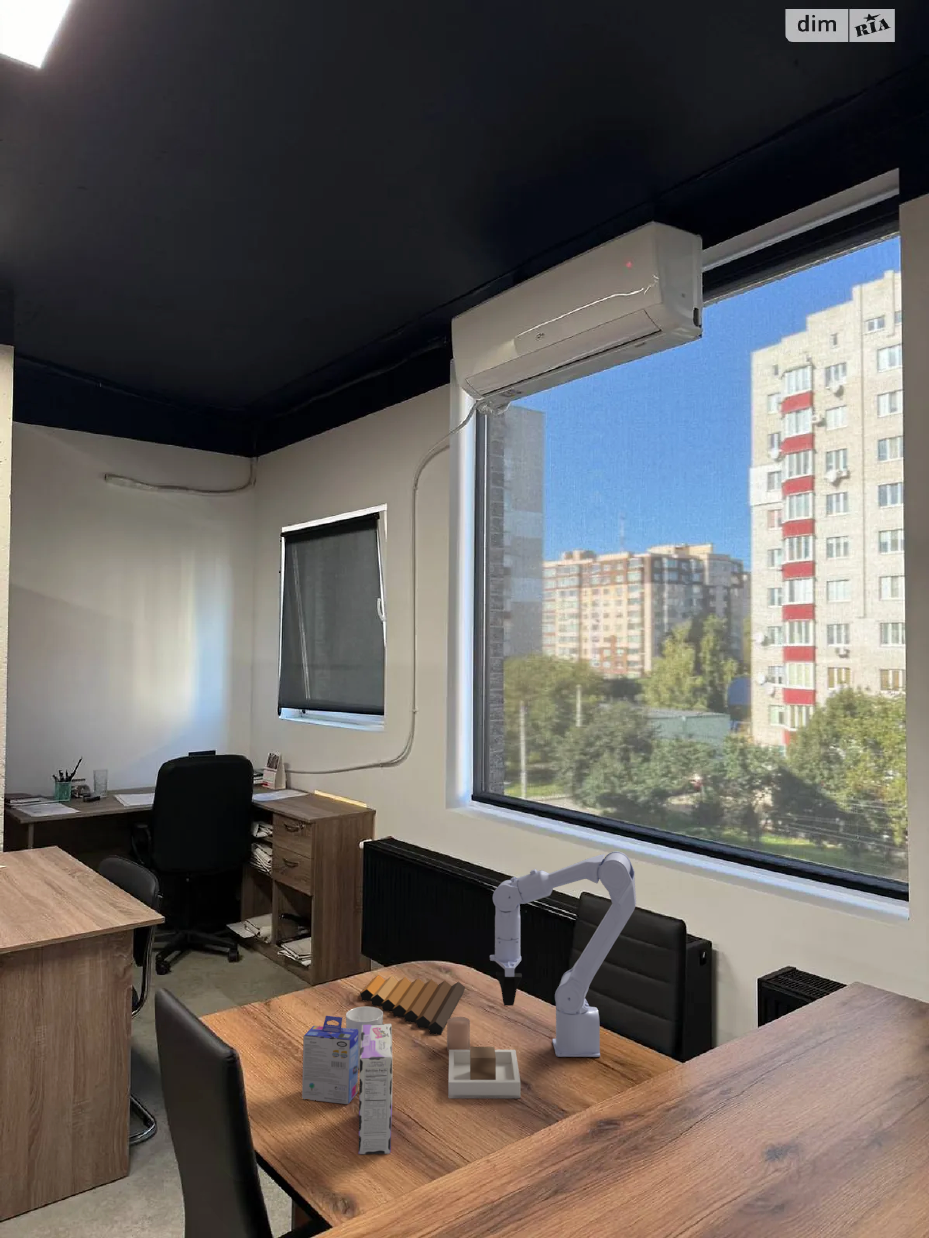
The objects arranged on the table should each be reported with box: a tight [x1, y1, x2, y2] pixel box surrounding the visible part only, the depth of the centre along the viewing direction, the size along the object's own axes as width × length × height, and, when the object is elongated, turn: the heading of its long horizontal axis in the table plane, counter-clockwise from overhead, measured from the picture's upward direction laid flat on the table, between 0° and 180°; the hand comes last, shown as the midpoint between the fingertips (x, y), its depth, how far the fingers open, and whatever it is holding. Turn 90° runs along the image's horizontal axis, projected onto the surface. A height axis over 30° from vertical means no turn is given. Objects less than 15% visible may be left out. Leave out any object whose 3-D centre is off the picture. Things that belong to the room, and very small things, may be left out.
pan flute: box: [359, 974, 466, 1036], centre depth 206 cm, size 25×3×25 cm
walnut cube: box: [470, 1046, 496, 1080], centre depth 171 cm, size 5×5×5 cm
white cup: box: [345, 1006, 384, 1070], centre depth 179 cm, size 8×8×10 cm
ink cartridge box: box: [301, 1015, 359, 1105], centre depth 165 cm, size 10×6×14 cm, turn 78°
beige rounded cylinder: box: [446, 1016, 471, 1053], centre depth 185 cm, size 5×5×6 cm
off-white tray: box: [447, 1049, 521, 1099], centre depth 171 cm, size 14×14×3 cm
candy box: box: [357, 1023, 393, 1155], centre depth 152 cm, size 14×6×16 cm, turn 5°
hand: (507, 997), depth 189 cm, fingers open, 7 cm apart
